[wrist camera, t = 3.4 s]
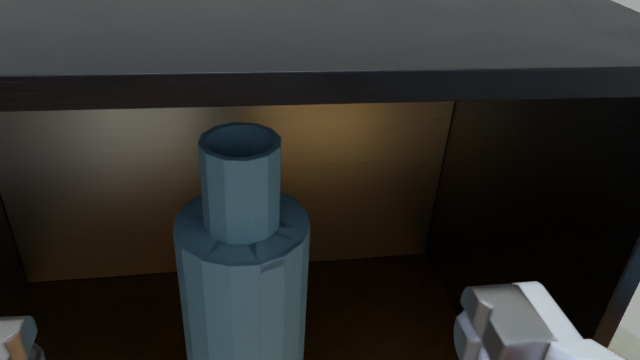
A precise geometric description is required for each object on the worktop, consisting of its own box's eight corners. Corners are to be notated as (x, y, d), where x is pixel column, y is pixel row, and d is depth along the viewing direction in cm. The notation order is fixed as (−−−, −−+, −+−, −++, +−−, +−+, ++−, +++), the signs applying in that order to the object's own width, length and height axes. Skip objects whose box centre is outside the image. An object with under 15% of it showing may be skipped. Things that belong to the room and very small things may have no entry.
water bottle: (271, 363, 35) (273, 100, 25) (317, 438, 31) (341, 157, 21) (182, 400, 32) (146, 123, 22) (219, 489, 28) (194, 194, 18)
